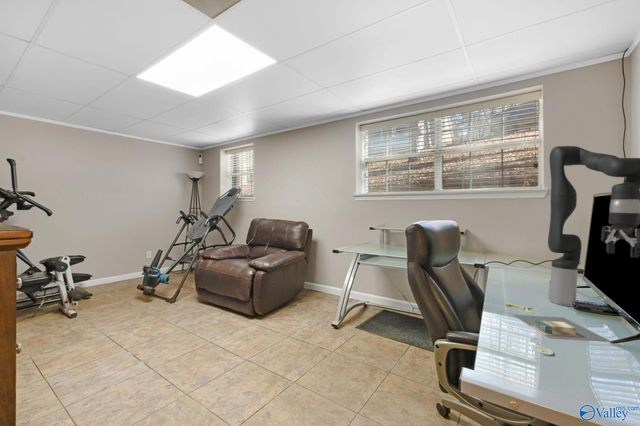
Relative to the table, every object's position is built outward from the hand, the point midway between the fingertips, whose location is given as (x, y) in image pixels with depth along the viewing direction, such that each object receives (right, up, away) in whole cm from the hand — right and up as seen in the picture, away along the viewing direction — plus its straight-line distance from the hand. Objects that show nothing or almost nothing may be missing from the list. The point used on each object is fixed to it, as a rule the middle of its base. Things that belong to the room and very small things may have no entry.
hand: (622, 255), depth 100 cm
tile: (-28, -27, -3) cm, 39 cm away
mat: (-24, -28, +1) cm, 36 cm away
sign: (-41, -28, -12) cm, 51 cm away
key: (-23, -28, +19) cm, 40 cm away
